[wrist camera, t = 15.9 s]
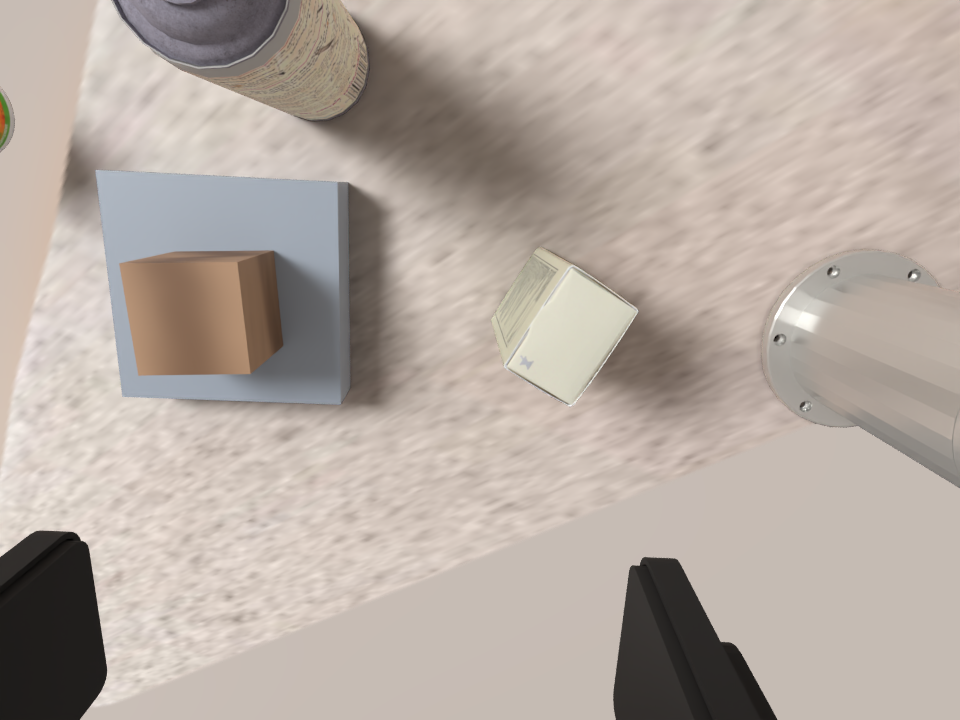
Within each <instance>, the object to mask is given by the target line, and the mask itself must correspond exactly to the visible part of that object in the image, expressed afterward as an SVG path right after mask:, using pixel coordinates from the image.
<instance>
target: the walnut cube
mask: <svg viewBox="0 0 960 720" xmlns="http://www.w3.org/2000/svg"><path fill="white" fill-rule="evenodd" d="M119 266H120V272H121V277H122V283H123V289H124V295H125V301H126V307H127V312H128V318H129V324H130V330H131V336H132V341H133V347H134V353H135V359H136V365H137V371H138V376H147V375H219V374H251V373H252V372H254V371H255V370H256V369H257V368H258V367H259V366H261V365H262V364H263V363H264V362H265V361H266V360H268V359H269V358H270V357H271V356H272V355H273V354H275V353H276V352H277V351H278V350H279V349H280V348H282V347H283V338H282V328H281V318H280V308H279V298H278V289H277V279H276V269H275V259H274V250H263V251H175V252H169V253H165V254H160V255H156V256H151V257H146V258H142V259H137V260H133V261H128V262H123V263H119Z"/></svg>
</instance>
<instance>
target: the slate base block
mask: <svg viewBox="0 0 960 720" xmlns="http://www.w3.org/2000/svg"><path fill="white" fill-rule="evenodd" d="M95 171H96V180H97V188H98V196H99V205H100V213H101V221H102V230H103V238H104V246H105V255H106V263H107V271H108V280H109V288H110V296H111V305H112V313H113V321H114V330H115V338H116V346H117V355H118V363H119V371H120V380H121V388H122V396H123V397H145V398H172V399H199V400H226V401H253V402H280V403H307V404H334V405H341V404H342V402H343V400H344V398H345V396H346V395H347V393H348V391H349V389H350V302H349V208H348V182H329V181H309V180H290V179H270V178H251V177H231V176H211V175H192V174H172V173H152V172H133V171H111V170H95ZM263 250H274V259H275V269H276V279H277V289H278V298H279V308H280V318H281V328H282V338H283V347H282V348H280V349H279V350H278V351H277V352H276V353H275V354H273V355H272V356H271V357H270V358H269V359H268V360H266V361H265V362H264V363H263V364H262V365H261V366H259V367H258V368H257V369H256V370H255V371H254V372H252V373H251V374H219V375H147V376H138V371H137V365H136V359H135V353H134V347H133V341H132V336H131V330H130V324H129V318H128V312H127V307H126V301H125V295H124V289H123V283H122V277H121V272H120V266H119V263H123V262H128V261H133V260H137V259H142V258H146V257H151V256H156V255H160V254H165V253H169V252H175V251H263Z"/></svg>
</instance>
